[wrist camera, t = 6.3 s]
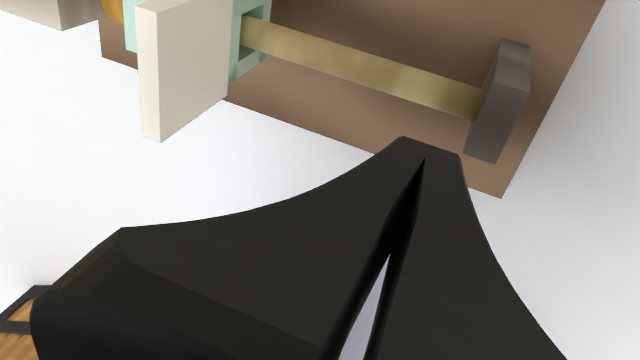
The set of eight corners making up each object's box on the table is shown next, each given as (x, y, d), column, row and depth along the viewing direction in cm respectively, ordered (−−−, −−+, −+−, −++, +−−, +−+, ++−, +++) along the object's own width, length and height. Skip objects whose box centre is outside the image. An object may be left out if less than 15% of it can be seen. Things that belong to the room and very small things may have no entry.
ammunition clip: (116, 285, 36) (-31, 430, 27) (128, 303, 37) (-11, 450, 27) (33, 285, 41) (-116, 407, 31) (45, 301, 42) (-98, 425, 32)
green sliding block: (264, 68, 18) (160, 143, 13) (174, 38, 19) (43, 98, 14) (275, -31, 16) (156, 12, 11) (173, -60, 17) (18, -33, 12)
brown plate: (502, 186, 20) (493, 279, 16) (115, 50, 24) (15, 93, 19) (633, -68, 14) (683, -41, 10) (95, -194, 18) (-57, -220, 14)
